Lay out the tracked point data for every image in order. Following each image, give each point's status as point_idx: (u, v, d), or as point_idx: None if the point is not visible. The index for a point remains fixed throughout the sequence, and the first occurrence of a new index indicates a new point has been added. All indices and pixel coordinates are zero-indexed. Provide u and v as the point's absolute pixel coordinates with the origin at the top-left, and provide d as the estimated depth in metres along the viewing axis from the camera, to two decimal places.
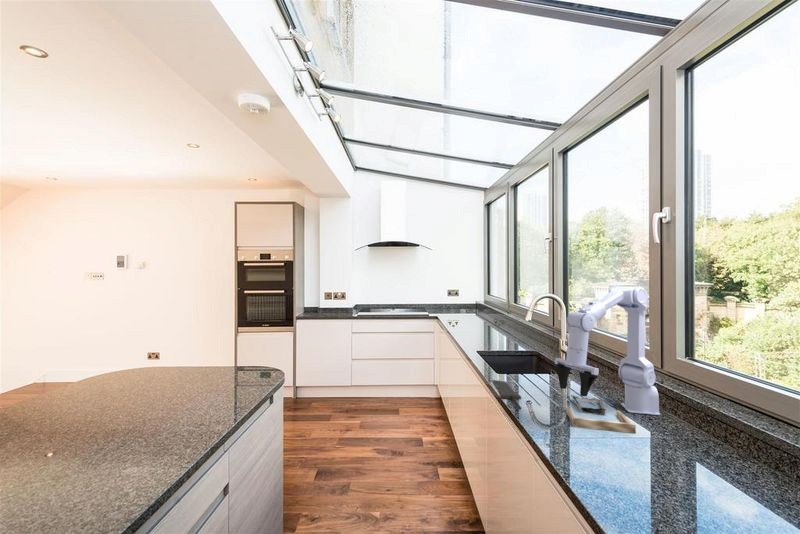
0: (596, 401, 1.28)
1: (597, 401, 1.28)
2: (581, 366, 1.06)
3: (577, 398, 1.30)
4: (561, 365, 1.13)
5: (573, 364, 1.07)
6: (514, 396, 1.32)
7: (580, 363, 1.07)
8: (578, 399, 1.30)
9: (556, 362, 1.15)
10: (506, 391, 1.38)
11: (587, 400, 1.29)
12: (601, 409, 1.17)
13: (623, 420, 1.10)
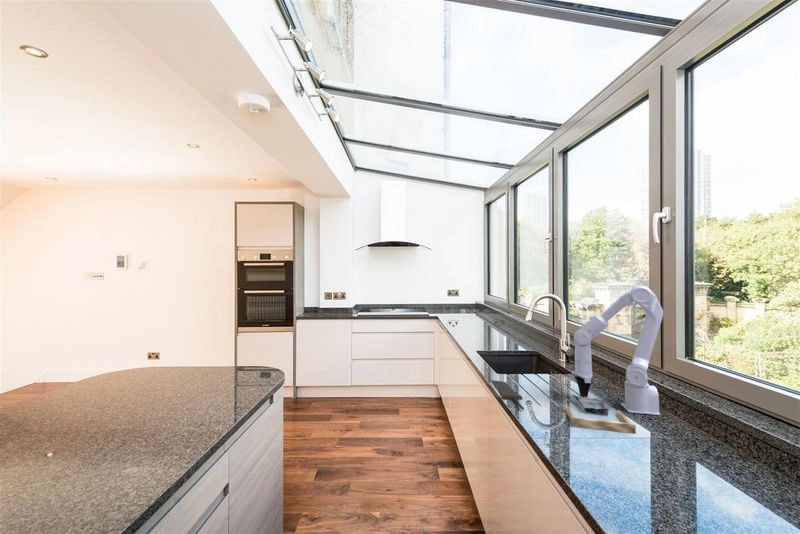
0: (598, 401, 1.28)
1: (599, 401, 1.28)
2: (579, 375, 1.28)
3: (579, 398, 1.30)
4: None
5: (576, 373, 1.30)
6: (515, 396, 1.32)
7: (581, 373, 1.29)
8: (580, 399, 1.30)
9: None
10: (507, 391, 1.38)
11: (589, 400, 1.29)
12: (604, 409, 1.16)
13: (623, 420, 1.10)
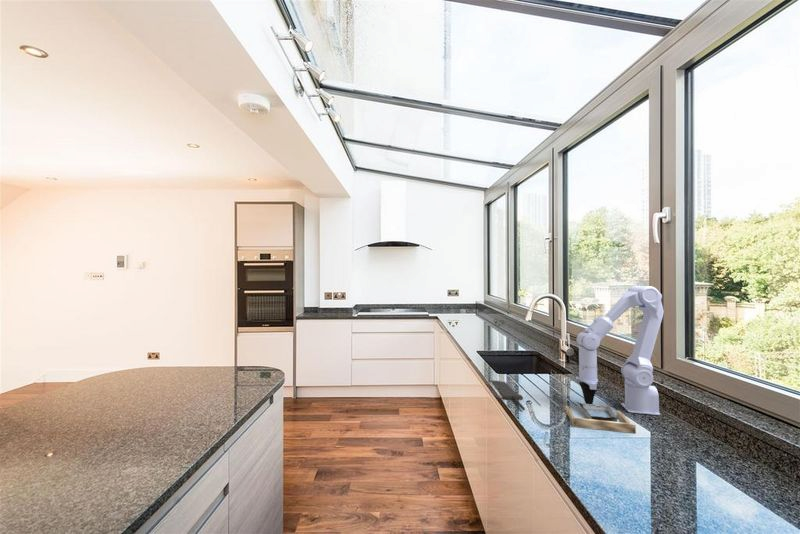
0: (604, 408, 1.21)
1: (605, 408, 1.21)
2: (584, 381, 1.21)
3: (584, 405, 1.23)
4: None
5: (580, 379, 1.23)
6: (516, 396, 1.31)
7: (586, 378, 1.22)
8: (585, 406, 1.23)
9: None
10: (507, 391, 1.38)
11: (594, 407, 1.22)
12: (613, 418, 1.09)
13: (623, 420, 1.10)
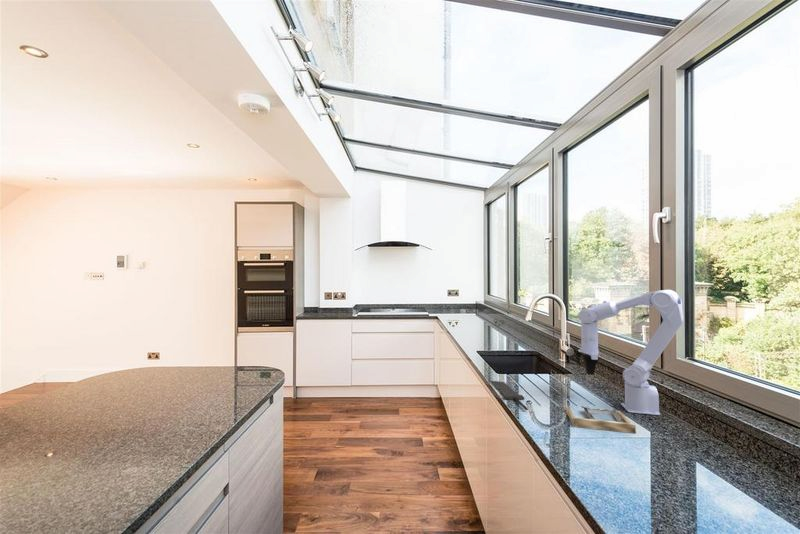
0: (609, 412, 1.18)
1: (610, 412, 1.18)
2: (586, 352, 1.30)
3: (588, 409, 1.19)
4: None
5: (582, 351, 1.32)
6: (517, 397, 1.31)
7: (588, 350, 1.31)
8: (589, 410, 1.19)
9: None
10: (508, 392, 1.37)
11: (599, 411, 1.18)
12: None
13: (623, 420, 1.10)
